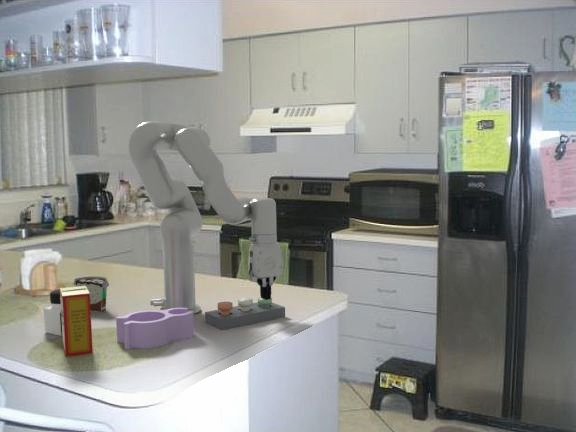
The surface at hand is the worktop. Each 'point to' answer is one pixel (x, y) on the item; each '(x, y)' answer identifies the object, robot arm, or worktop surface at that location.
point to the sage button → (264, 302)
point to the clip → (154, 327)
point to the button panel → (244, 316)
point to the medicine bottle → (53, 314)
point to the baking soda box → (76, 320)
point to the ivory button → (245, 304)
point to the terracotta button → (225, 308)
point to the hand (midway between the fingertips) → (265, 298)
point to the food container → (95, 291)
